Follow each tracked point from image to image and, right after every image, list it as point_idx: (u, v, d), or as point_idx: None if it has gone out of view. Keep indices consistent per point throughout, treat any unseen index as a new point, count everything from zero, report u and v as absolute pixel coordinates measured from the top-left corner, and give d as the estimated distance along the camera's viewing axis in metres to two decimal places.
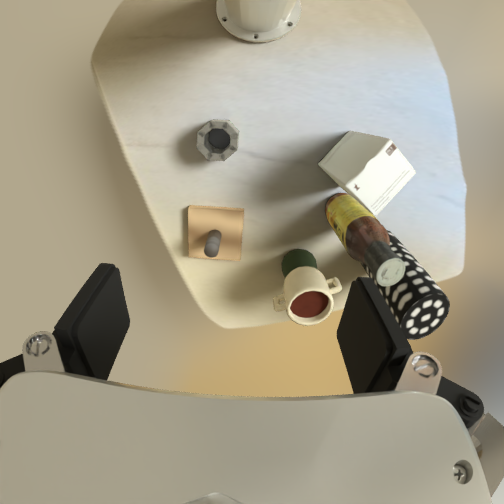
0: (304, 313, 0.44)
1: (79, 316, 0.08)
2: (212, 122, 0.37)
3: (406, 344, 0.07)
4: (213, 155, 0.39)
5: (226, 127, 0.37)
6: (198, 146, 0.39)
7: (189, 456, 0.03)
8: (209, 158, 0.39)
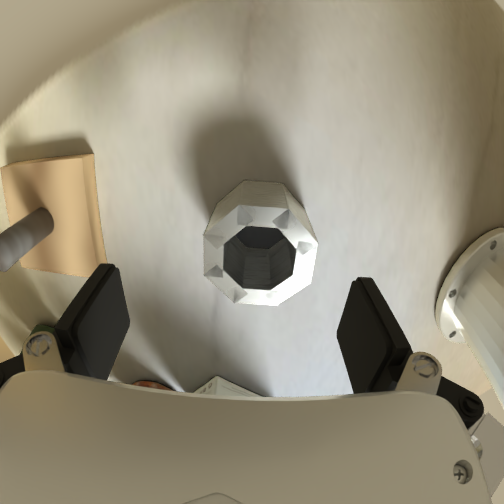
0: None
1: (79, 316, 0.08)
2: (313, 249, 0.14)
3: (406, 344, 0.07)
4: (217, 249, 0.15)
5: (295, 282, 0.15)
6: (244, 208, 0.14)
7: (189, 456, 0.03)
8: (208, 239, 0.14)
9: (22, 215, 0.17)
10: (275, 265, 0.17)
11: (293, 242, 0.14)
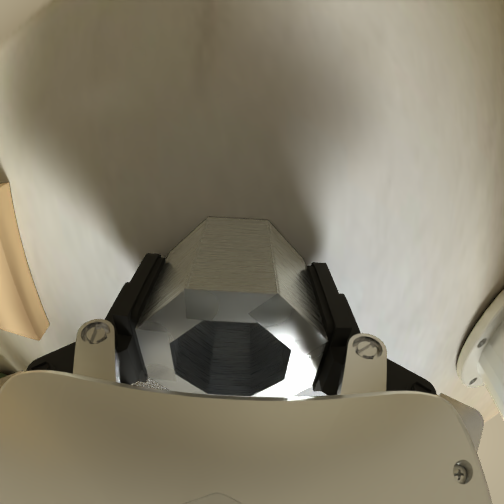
0: None
1: (136, 303, 0.08)
2: (318, 349, 0.08)
3: (348, 324, 0.08)
4: (160, 348, 0.08)
5: (288, 387, 0.09)
6: (196, 291, 0.07)
7: (189, 456, 0.03)
8: (144, 336, 0.08)
9: None
10: (258, 348, 0.11)
11: (286, 341, 0.08)
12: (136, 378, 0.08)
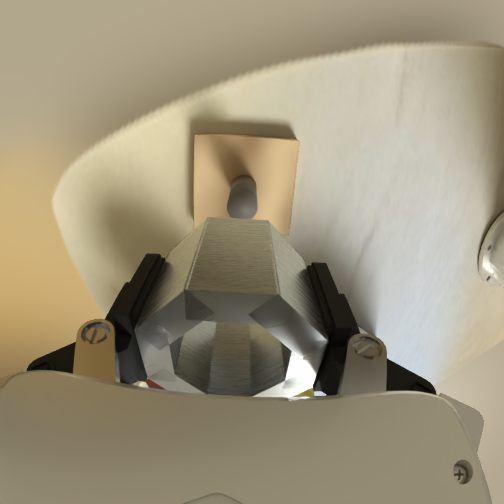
0: None
1: (136, 303, 0.08)
2: (319, 349, 0.08)
3: (348, 324, 0.08)
4: (160, 349, 0.08)
5: (288, 388, 0.09)
6: (195, 292, 0.07)
7: (189, 456, 0.03)
8: (143, 337, 0.08)
9: (216, 180, 0.25)
10: (258, 348, 0.11)
11: (286, 342, 0.08)
12: (136, 378, 0.08)
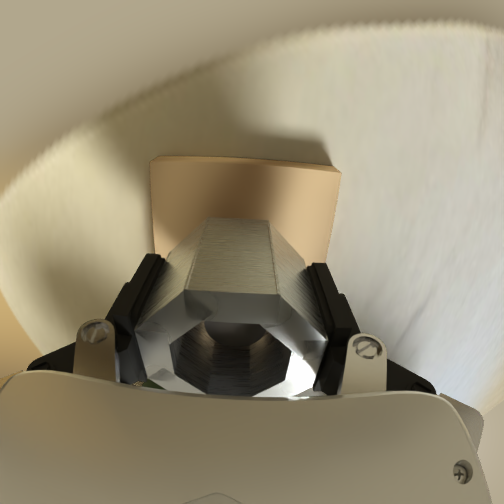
0: None
1: (136, 303, 0.08)
2: (319, 349, 0.08)
3: (348, 324, 0.08)
4: (160, 349, 0.08)
5: (288, 387, 0.09)
6: (196, 292, 0.07)
7: (189, 456, 0.03)
8: (143, 337, 0.08)
9: None
10: (258, 348, 0.11)
11: (286, 342, 0.08)
12: (136, 378, 0.08)
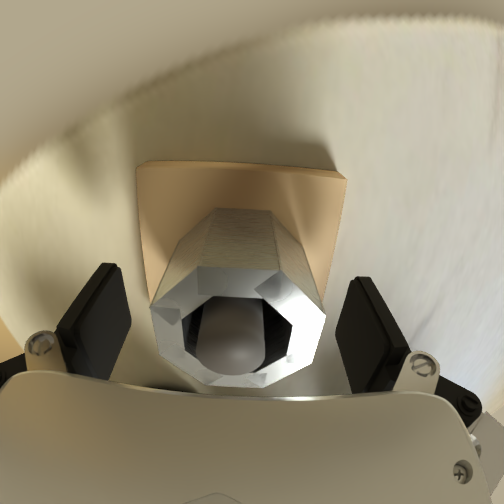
0: None
1: (81, 315, 0.08)
2: (317, 324, 0.09)
3: (404, 342, 0.07)
4: (173, 325, 0.09)
5: (290, 363, 0.10)
6: (207, 269, 0.08)
7: (189, 456, 0.03)
8: (158, 313, 0.09)
9: None
10: None
11: (288, 316, 0.09)
12: None
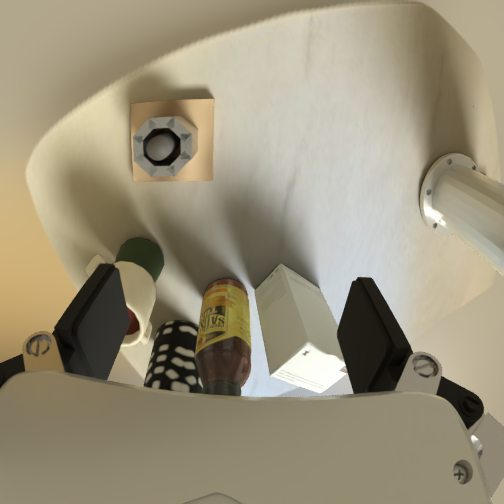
0: None
1: (79, 316, 0.08)
2: (189, 137, 0.24)
3: (406, 344, 0.07)
4: (139, 144, 0.24)
5: (183, 158, 0.25)
6: (152, 120, 0.23)
7: (189, 456, 0.03)
8: (135, 139, 0.24)
9: None
10: None
11: (178, 134, 0.24)
12: None
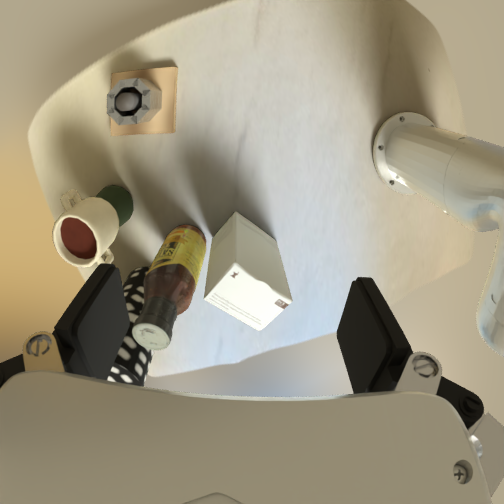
0: (65, 234, 0.30)
1: (79, 316, 0.08)
2: (148, 93, 0.28)
3: (406, 344, 0.07)
4: (112, 99, 0.28)
5: (143, 109, 0.29)
6: (122, 81, 0.27)
7: (189, 456, 0.03)
8: (108, 96, 0.27)
9: None
10: None
11: (140, 91, 0.28)
12: None
